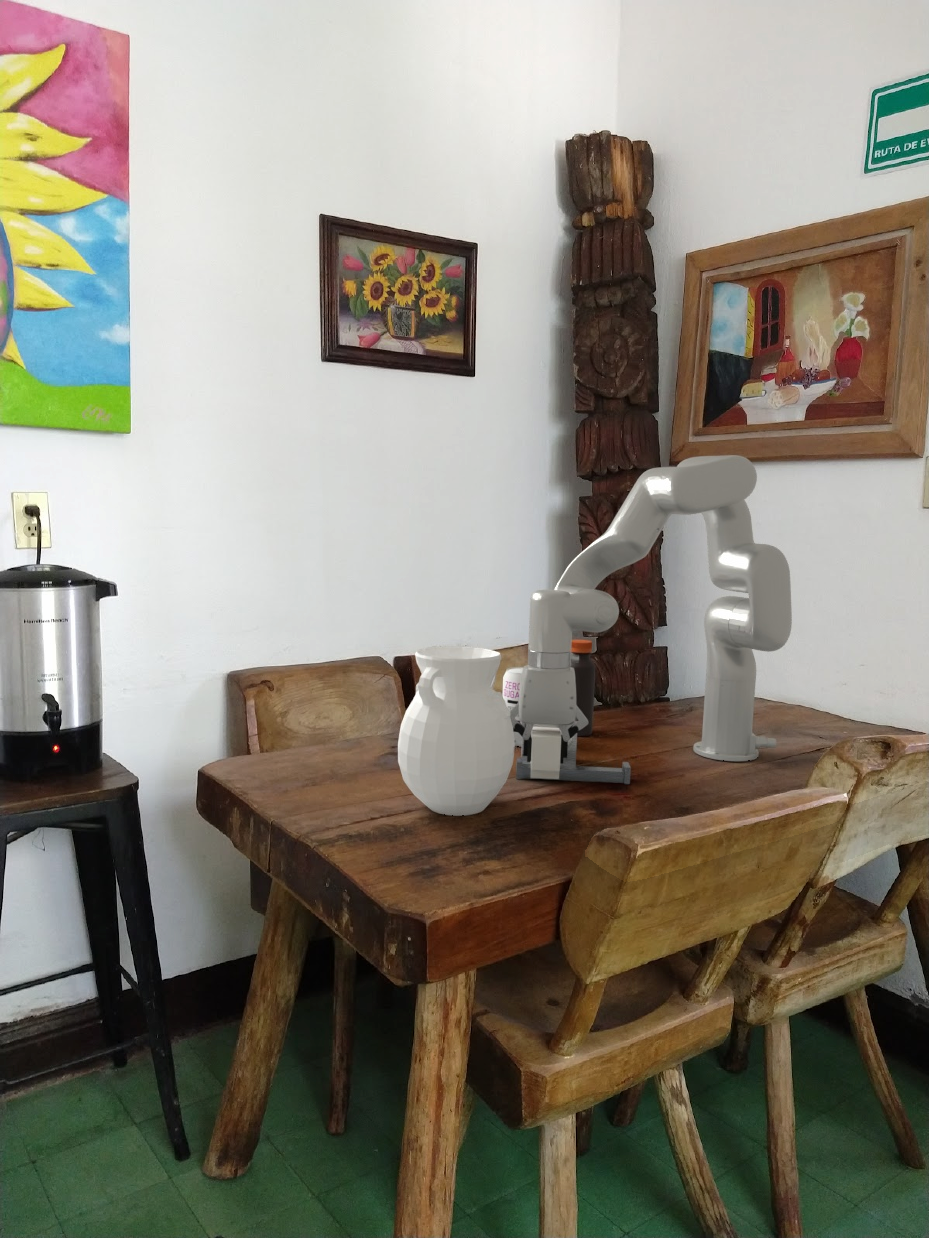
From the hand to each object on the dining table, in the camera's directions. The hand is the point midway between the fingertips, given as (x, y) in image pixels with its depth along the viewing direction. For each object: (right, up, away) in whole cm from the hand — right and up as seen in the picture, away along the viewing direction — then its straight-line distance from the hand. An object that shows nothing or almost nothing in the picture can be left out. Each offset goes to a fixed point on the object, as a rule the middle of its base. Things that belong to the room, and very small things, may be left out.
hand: (544, 759), depth 164 cm
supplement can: (-3, 0, +24) cm, 25 cm away
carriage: (0, -3, 0) cm, 3 cm away
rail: (+5, -3, 0) cm, 6 cm away
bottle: (+10, 0, +34) cm, 35 cm away
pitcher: (-16, -5, -17) cm, 24 cm away
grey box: (+1, -2, +10) cm, 11 cm away
